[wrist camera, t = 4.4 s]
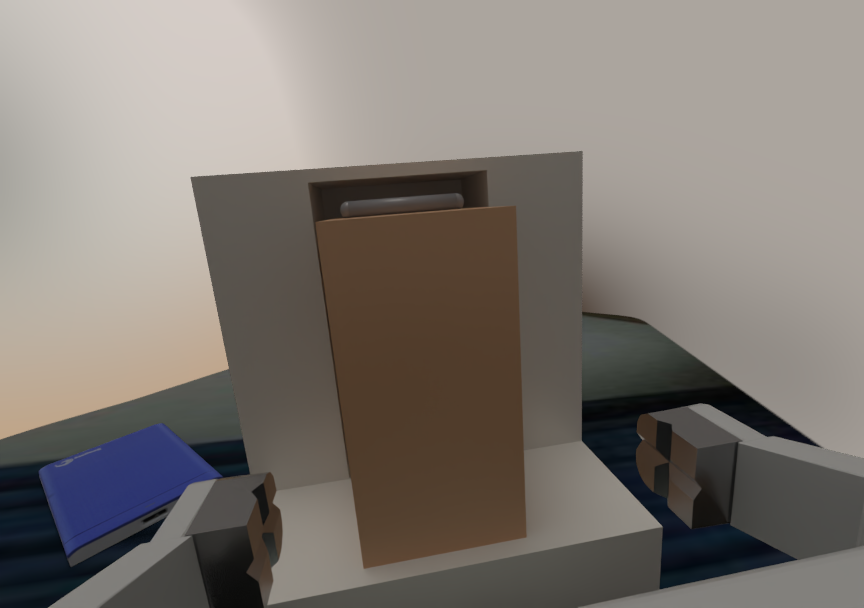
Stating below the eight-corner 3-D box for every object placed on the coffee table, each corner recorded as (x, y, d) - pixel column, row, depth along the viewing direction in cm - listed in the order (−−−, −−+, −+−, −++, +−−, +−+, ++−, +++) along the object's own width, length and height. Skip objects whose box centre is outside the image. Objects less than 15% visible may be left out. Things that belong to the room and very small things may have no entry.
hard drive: (36, 468, 30) (64, 551, 22) (163, 420, 36) (222, 472, 28) (43, 487, 31) (73, 576, 22) (167, 437, 36) (227, 493, 28)
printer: (234, 733, 14) (83, 130, 10) (309, 435, 34) (269, 184, 29) (656, 633, 17) (685, 100, 12) (500, 406, 36) (489, 169, 31)
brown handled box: (363, 568, 15) (312, 198, 12) (364, 427, 24) (336, 204, 21) (526, 537, 15) (515, 183, 13) (464, 412, 25) (450, 196, 22)
